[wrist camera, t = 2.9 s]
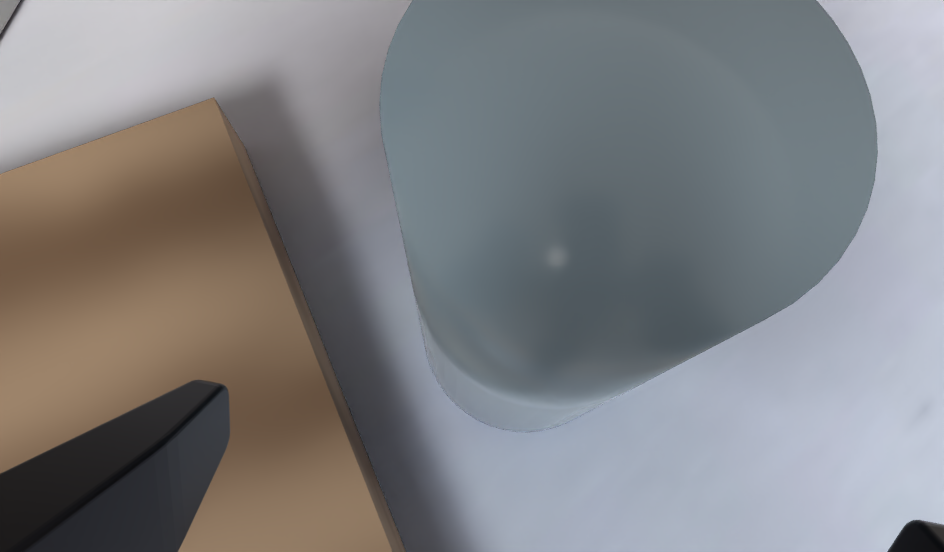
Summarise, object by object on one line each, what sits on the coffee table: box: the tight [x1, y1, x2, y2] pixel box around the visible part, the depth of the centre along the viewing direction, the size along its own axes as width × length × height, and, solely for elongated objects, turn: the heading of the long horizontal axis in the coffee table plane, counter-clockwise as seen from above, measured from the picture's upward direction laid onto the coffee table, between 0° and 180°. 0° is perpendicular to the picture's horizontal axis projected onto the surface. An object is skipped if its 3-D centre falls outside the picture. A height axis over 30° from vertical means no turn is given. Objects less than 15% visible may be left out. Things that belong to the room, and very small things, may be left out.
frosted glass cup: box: [380, 0, 878, 432], centre depth 14 cm, size 6×6×13 cm
